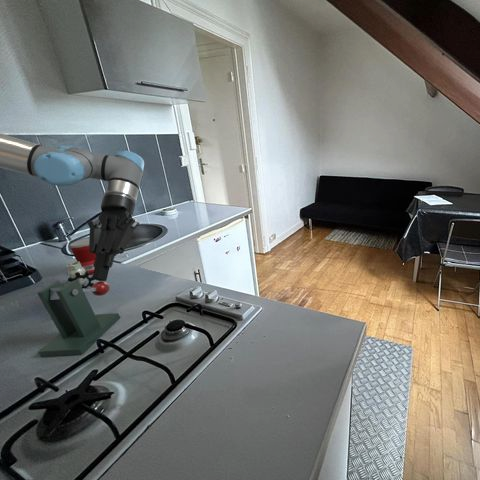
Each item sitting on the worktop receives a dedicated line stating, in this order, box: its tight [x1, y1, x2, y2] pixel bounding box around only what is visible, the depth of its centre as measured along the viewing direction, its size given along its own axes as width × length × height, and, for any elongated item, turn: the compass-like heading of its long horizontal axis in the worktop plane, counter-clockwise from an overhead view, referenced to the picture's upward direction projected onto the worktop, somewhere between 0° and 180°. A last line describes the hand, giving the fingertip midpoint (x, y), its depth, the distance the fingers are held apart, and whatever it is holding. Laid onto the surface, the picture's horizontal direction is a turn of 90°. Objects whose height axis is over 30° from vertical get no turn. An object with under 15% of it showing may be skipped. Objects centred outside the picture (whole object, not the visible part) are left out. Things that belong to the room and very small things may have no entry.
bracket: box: [36, 280, 121, 358], centre depth 59 cm, size 12×9×14 cm
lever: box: [50, 281, 111, 300], centre depth 62 cm, size 13×4×4 cm, turn 0°
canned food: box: [69, 237, 96, 275], centre depth 92 cm, size 8×8×11 cm
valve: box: [65, 260, 96, 289], centre depth 83 cm, size 7×7×12 cm
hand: (99, 279), depth 67 cm, fingers closed
